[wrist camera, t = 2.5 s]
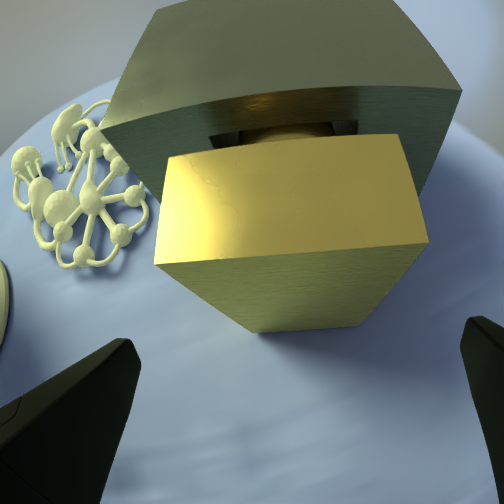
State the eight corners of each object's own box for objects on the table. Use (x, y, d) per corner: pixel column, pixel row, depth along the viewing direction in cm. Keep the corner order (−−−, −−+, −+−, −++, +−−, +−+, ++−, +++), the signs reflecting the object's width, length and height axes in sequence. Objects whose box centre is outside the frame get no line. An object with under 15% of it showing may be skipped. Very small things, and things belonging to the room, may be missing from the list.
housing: (395, 240, 18) (462, 90, 7) (205, 255, 20) (99, 130, 9) (365, 122, 22) (374, -19, 11) (213, 137, 24) (156, 9, 13)
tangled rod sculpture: (206, 199, 24) (192, 165, 20) (65, 318, 21) (31, 303, 17) (112, 103, 31) (98, 77, 27) (17, 182, 28) (-4, 161, 24)
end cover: (359, 325, 17) (429, 242, 6) (252, 332, 18) (154, 263, 7) (336, 162, 21) (336, 6, 10) (250, 170, 22) (199, 24, 11)
